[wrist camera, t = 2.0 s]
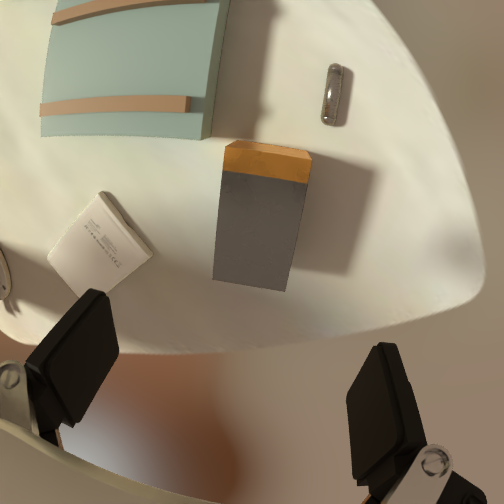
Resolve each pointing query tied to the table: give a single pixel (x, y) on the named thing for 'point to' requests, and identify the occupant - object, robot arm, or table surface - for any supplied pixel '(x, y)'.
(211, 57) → the stand
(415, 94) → the table surface
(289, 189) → the block
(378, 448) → the robot arm
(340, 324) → the table surface
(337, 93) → the grey metal rounded bar
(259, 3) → the table surface
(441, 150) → the table surface
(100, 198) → the external hard drive
